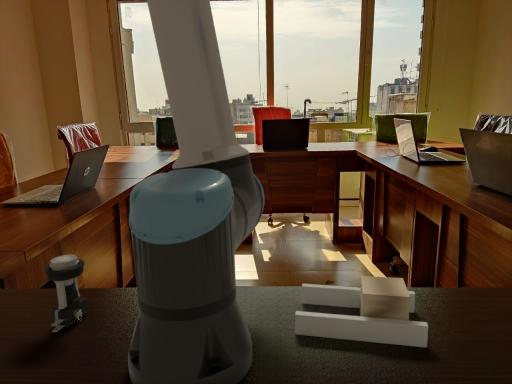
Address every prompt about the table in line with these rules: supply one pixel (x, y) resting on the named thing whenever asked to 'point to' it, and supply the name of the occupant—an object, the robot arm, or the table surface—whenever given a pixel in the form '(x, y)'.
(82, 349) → the table surface
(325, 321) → the channel
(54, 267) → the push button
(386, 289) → the maple block
